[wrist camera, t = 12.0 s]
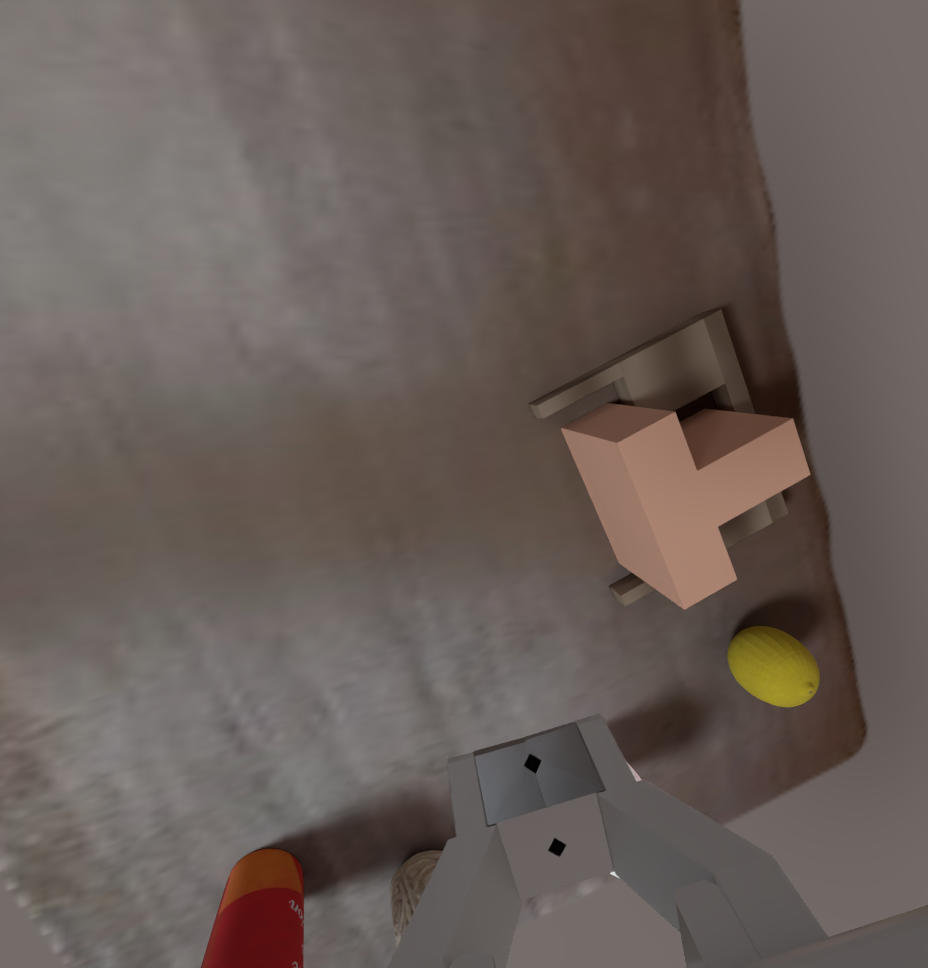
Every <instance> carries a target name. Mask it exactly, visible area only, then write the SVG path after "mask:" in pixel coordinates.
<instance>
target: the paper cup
mask: <svg viewBox="0 0 928 968" xmlns="http://www.w3.org/2000/svg"><path fill="white" fill-rule="evenodd" d="M303 943H304V882H303V870H302V867H301V864H300V862H299V861H298V860H297V858H296V857H295V856H293V855H292V854H291V853H289V852H287V851H284V850H281V849H275V848H267V849H261V850H257V851H254V852H252V853H250V854H248V855H246V856H244V857H243V858H242V859H241V860H239V861H238V862H237V864H236V865H235V866H234V867H233V869H232V871H231V873H230V875H229V878H228V881H227V883H226V886H225V890H224V893H223V896H222V899H221V902H220V906H219V909H218V912H217V915H216V919H215V922H214V925H213V929H212V932H211V935H210V939H209V942H208V945H207V949H206V952H205V955H204V959H203V962H202V965H201V968H303Z"/></svg>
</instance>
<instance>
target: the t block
mask: <svg viewBox="0 0 928 968" xmlns="http://www.w3.org/2000/svg"><path fill="white" fill-rule="evenodd" d="M561 430H562V433H563V435H564V437H565V439H566V442H567V444H568V446H569V449H570V451H571V453H572V456H573V458H574V460H575V463H576V465H577V467H578V470H579V472H580V474H581V477H582V479H583V481H584V483H585V486H586V488H587V490H588V493H589V495H590V497H591V500H592V502H593V504H594V507H595V509H596V511H597V514H598V516H599V518H600V520H601V523H602V525H603V527H604V530H605V532H606V534H607V537H608V539H609V541H610V544H611V546H612V548H613V551H614V553H615V555H616V557H617V560H618V562H619V564H621V565H622V566H624V567H625V568H626V569H628V570H629V571H631V572H632V573H633V574H635V575H636V576H638V577H639V578H641V579H642V580H643V581H645V582H646V583H648V584H649V585H650V586H652V587H653V588H655V589H656V590H658V591H659V592H660V593H662V594H663V595H665V596H666V597H667V598H669V599H670V600H672V601H673V602H675V603H676V604H677V605H679V606H680V607H682V608H683V609H684V610H685V609H687V608H688V607H690V606H692V605H693V604H695V603H697V602H699V601H700V600H702V599H704V598H706V597H707V596H709V595H711V594H713V593H714V592H716V591H718V590H720V589H721V588H723V587H725V586H727V585H728V584H730V583H732V582H733V581H735V580H737V577H736V575H735V572H734V569H733V567H732V564H731V561H730V558H729V556H728V553H727V550H726V548H725V545H724V542H723V540H722V537H721V534H720V531H719V529H718V526H720V525H722V524H724V523H726V522H727V521H729V520H731V519H733V518H734V517H736V516H738V515H740V514H741V513H743V512H745V511H747V510H749V509H750V508H752V507H754V506H756V505H757V504H759V503H761V502H763V501H765V500H766V499H768V498H770V497H772V496H773V495H775V494H777V493H779V492H781V491H782V490H784V489H786V488H788V487H789V486H791V485H793V484H795V483H797V482H798V481H800V480H802V479H804V478H805V477H807V476H809V475H810V472H809V469H808V465H807V462H806V459H805V456H804V452H803V449H802V446H801V443H800V440H799V436H798V433H797V430H796V427H795V423H794V420H793V418H785V417H776V416H767V415H758V414H749V413H739V412H730V411H721V410H712V409H703V410H701V411H699V412H697V413H695V414H693V415H692V416H690V417H688V418H686V419H684V420H682V421H680V422H679V420H678V418H677V415H676V412H673V411H666V410H658V409H650V408H642V407H635V406H627V405H619V404H611V403H606V404H604V405H602V406H601V407H599V408H597V409H595V410H593V411H591V412H589V413H587V414H585V415H584V416H582V417H580V418H578V419H576V420H574V421H572V422H570V423H568V424H566V425H565V426H563V427H561Z"/></svg>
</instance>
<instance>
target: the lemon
mask: <svg viewBox="0 0 928 968" xmlns="http://www.w3.org/2000/svg"><path fill="white" fill-rule="evenodd" d="M728 663H729V667H730V670H731V672H732V674H733V675H734V677H735V678H736V680H737V681H738V682H739V684H740V685H741V686H742V687H744V688H745V689H746V690H747V691H748V692H749V693H751V694H752V695H753V696H755V697H757V698H759V699H761V700H763V701H765V702H768V703H770V704H772V705H775V706H781V707H793V706H798V705H801V704H803V703H805V702H807V701H808V700H810V699H811V698H812V697H813V695H814V694H815V692H816V691H817V688H818V686H819V680H820V677H819V669H818V666H817V663H816V661H815V659H814V658H813V656H812V655H811V654H810V652H809V651H808V650H807V649H806V648H805V647H804V646H803V645H802V644H801V643H800V642H799V641H798V640H796V639H795V638H793V637H792V636H790V635H789V634H787V633H785V632H783V631H781V630H778V629H775V628H772V627H768V626H753V627H749V628H746V629H744V630H742V631H740V632H739V633H738V634H737V635H735V637H734V638H733V639H732V641H731V643H730V645H729V648H728Z"/></svg>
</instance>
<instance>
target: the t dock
mask: <svg viewBox="0 0 928 968" xmlns="http://www.w3.org/2000/svg"><path fill="white" fill-rule="evenodd" d="M612 382H613V383H614V386H615V388H616V391H617V394H618V396H619V399H620V401H621V404H622V405H627V406H635V407H642V408H650V409H658V410H666V411H675V410H677V409H678V408H680V407H682V406H684V405H686V404H688V403H690V402H691V401H693V400H695V399H697V398H699V397H701V396H703V395H704V394H706V393H708V392H710V391H711V392H712V395H713V398H714V400H715V403H716V406H717V409H718V410H721V411H730V412H739V413H749V414H755V411H754V408H753V405H752V402H751V399H750V396H749V393H748V390H747V387H746V383H745V380H744V377H743V374H742V371H741V368H740V365H739V362H738V359H737V356H736V353H735V350H734V347H733V344H732V341H731V338H730V335H729V332H728V329H727V326H726V323H725V320H724V317H723V314H722V311H721V310H714V311H708V312H703V313H701V314H699V315H698V316H696V317H694V318H692V319H690V320H688V321H686V322H684V323H682V324H680V325H678V326H676V327H675V328H673V329H671V330H669V331H667V332H665V333H663V334H661V335H659V336H657V337H655V338H653V339H652V340H650V341H648V342H646V343H644V344H642V345H640V346H638V347H636V348H634V349H632V350H631V351H629V352H627V353H625V354H623V355H621V356H619V357H617V358H615V359H613V360H611V361H609V362H608V363H606V364H604V365H602V366H600V367H598V368H596V369H594V370H592V371H590V372H588V373H586V374H585V375H583V376H581V377H579V378H577V379H575V380H573V381H571V382H569V383H567V384H565V385H563V386H562V387H560V388H558V389H556V390H554V391H552V392H550V393H548V394H546V395H544V396H542V397H541V398H539V399H537V400H535V401H533V402H531V403H529V404H528V406H529V408H530V410H531V412H532V415H533V417H537V418H541V419H544V418H545V417H547V416H549V415H551V414H553V413H555V412H557V411H559V410H561V409H563V408H564V407H566V406H568V405H570V404H572V403H574V402H576V401H578V400H580V399H581V398H583V397H585V396H587V395H589V394H591V393H593V392H595V391H597V390H599V389H600V388H602V387H604V386H606V385H608V384H610V383H612ZM787 514H788V511H787V508H786V505H785V502H784V499H783V496H782V493H781V492H779V493H777V494H775V495H773V496H772V497H770V498H768V499H766V500H765V501H763V502H761V503H759V504H757V505H756V506H754V507H752V508H750V509H749V510H747V511H745V512H743V513H741V514H740V515H738V516H736V517H734V518H733V519H731V520H729V521H727V522H726V523H724V524H722V525H720V526H718V529H719V531H720V534H721V537H722V540H723V542H724V545H725V548H726V549H727V548H729V547H731V546H732V545H734V544H736V543H738V542H740V541H741V540H743V539H745V538H747V537H748V536H750V535H752V534H754V533H755V532H757V531H759V530H761V529H762V528H764V527H766V526H768V525H769V524H771V523H773V522H775V521H776V520H778V519H780V518H782V517H783V516H785V515H787ZM609 587H610V590H611V592H612V594H613V596H614V597H615V598H616V599H617V600H618V601H619V602H621V603H622V604H623V605H624V606H627V605H629V604H631V603H632V602H634V601H636V600H638V599H640V598H641V597H643V596H645V595H647V594H648V593H650V592H652V591H654V590H655V588H653V587H652V586H650V585H649V584H648V583H646V582H645V581H643V580H642V579H641V578H639V577H638V576H636V575H635V574H633V573H631V574H630V575H628V576H626V577H624V578H623V579H621V580H619V581H617V582H616V583H614V584H612V585H610V586H609Z"/></svg>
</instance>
